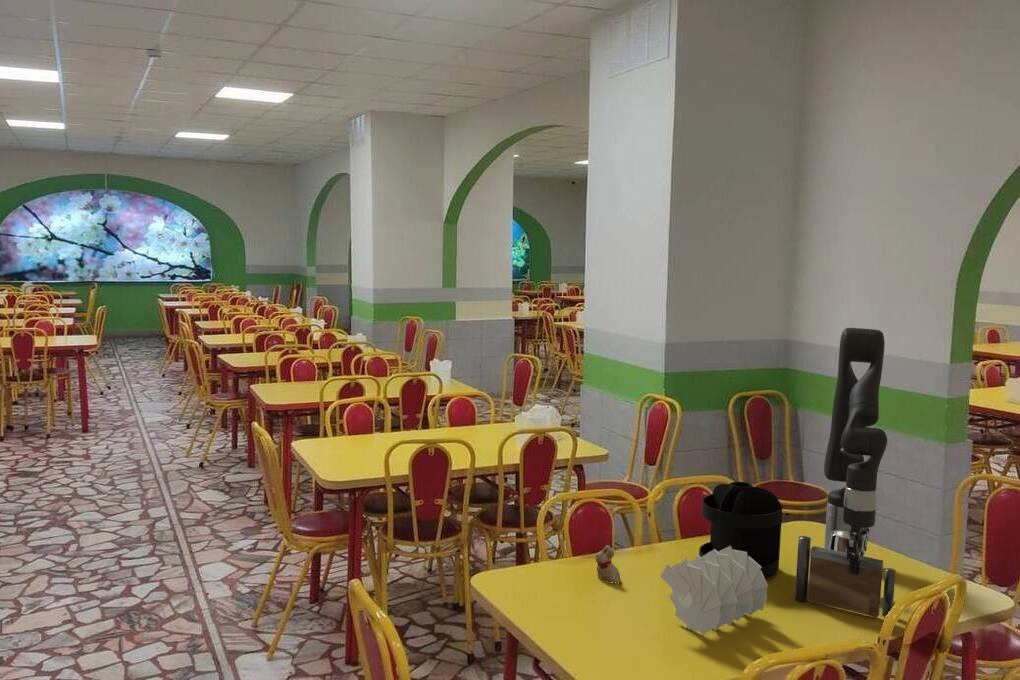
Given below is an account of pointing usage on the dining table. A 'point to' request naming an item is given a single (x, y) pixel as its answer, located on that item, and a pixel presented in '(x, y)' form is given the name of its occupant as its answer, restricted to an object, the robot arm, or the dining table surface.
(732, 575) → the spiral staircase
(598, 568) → the chocolate bunny
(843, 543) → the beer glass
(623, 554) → the dining table surface
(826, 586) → the gate
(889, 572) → the gate posts
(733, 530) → the container
